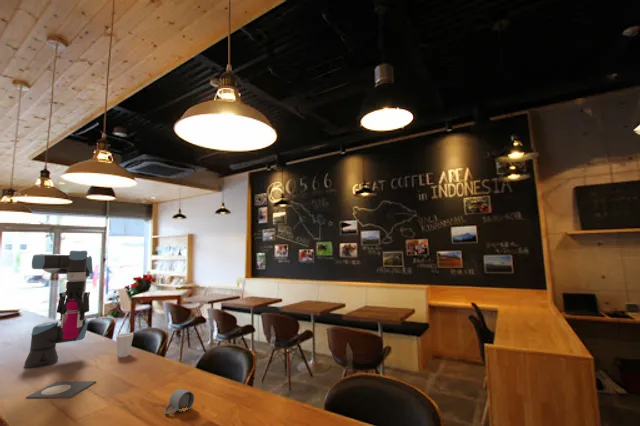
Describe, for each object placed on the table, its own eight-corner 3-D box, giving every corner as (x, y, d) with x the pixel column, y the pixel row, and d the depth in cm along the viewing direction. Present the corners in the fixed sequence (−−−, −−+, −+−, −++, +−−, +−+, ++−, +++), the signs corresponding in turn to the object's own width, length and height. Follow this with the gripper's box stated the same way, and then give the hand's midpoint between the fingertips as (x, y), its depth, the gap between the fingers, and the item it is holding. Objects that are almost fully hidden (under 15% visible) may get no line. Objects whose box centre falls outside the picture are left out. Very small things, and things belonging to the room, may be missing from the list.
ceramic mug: (183, 402, 138) (184, 384, 139) (194, 407, 133) (195, 388, 134) (160, 413, 129) (160, 393, 130) (170, 419, 125) (171, 398, 126)
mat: (25, 398, 142) (26, 396, 142) (56, 382, 159) (56, 381, 159) (70, 397, 142) (70, 396, 143) (95, 382, 159) (96, 380, 159)
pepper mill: (83, 336, 158) (86, 296, 160) (68, 340, 151) (72, 298, 153) (73, 335, 160) (76, 295, 162) (57, 338, 153) (61, 297, 156)
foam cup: (135, 353, 204) (136, 333, 206) (125, 358, 195) (126, 336, 197) (121, 353, 205) (123, 332, 207) (111, 357, 196) (112, 336, 198)
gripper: (49, 281, 155) (44, 329, 152) (90, 281, 156) (86, 328, 153) (61, 280, 162) (57, 325, 159) (100, 279, 163) (96, 325, 160)
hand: (71, 327), depth 156 cm, fingers closed on pepper mill, 7 cm apart
